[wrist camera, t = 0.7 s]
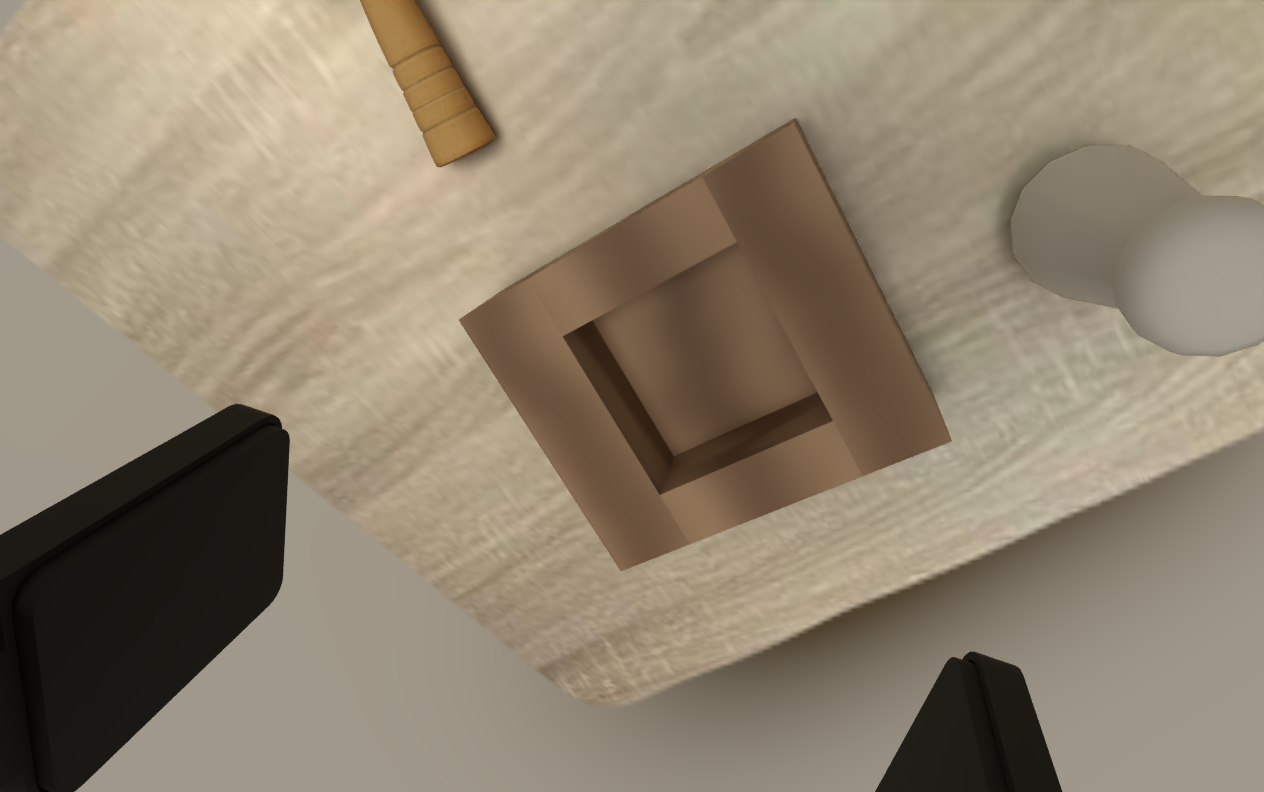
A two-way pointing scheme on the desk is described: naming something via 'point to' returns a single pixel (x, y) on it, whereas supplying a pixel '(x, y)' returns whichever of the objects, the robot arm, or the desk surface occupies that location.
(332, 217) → the desk surface
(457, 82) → the kendama
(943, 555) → the desk surface
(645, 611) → the desk surface
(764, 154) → the socket block
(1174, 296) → the grey rounded peg
